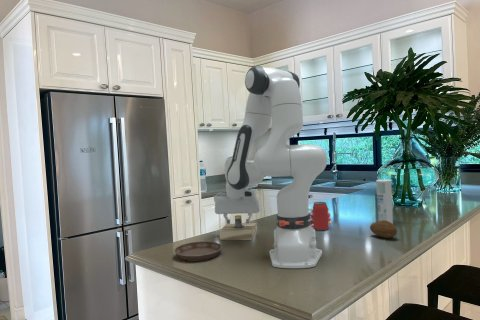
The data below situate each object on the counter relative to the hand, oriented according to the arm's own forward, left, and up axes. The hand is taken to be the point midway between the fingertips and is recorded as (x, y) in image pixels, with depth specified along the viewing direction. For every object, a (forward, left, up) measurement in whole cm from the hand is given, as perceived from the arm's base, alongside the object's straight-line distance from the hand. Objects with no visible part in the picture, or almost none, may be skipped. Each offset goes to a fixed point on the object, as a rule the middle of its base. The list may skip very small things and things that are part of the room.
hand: (238, 223), depth 159 cm
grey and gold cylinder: (0, 0, -6) cm, 6 cm away
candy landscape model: (+25, -28, -6) cm, 38 cm away
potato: (-5, -60, -6) cm, 61 cm away
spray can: (+18, -65, -6) cm, 68 cm away
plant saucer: (-27, +10, -6) cm, 29 cm away
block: (0, 0, -6) cm, 6 cm away
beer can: (+10, -36, -6) cm, 38 cm away
